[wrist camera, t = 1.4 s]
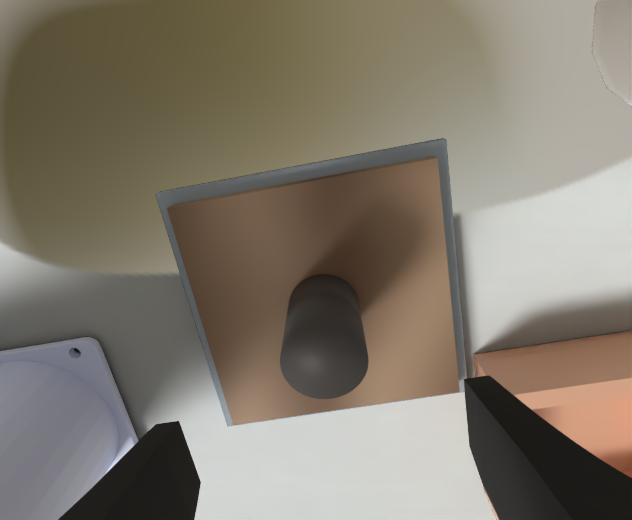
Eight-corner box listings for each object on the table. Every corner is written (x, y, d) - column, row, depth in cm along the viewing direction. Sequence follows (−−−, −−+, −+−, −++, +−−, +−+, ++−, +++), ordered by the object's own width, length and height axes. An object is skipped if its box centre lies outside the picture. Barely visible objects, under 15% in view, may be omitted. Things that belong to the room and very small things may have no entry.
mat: (229, 419, 21) (227, 426, 21) (159, 191, 18) (155, 194, 17) (464, 384, 21) (468, 391, 20) (442, 138, 17) (446, 139, 16)
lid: (235, 415, 21) (212, 500, 16) (171, 204, 17) (121, 240, 13) (455, 383, 20) (492, 463, 16) (433, 155, 17) (472, 177, 12)
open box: (484, 491, 23) (507, 547, 20) (473, 354, 20) (498, 397, 17) (650, 469, 22) (698, 524, 19) (662, 325, 19) (720, 364, 17)
